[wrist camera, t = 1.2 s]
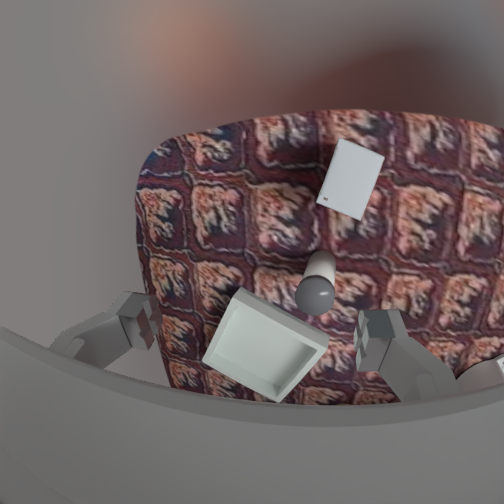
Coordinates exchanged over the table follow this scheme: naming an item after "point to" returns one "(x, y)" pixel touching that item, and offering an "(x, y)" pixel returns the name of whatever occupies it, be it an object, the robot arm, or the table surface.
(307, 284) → the shaker
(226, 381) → the table surface
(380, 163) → the small box
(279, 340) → the tray
